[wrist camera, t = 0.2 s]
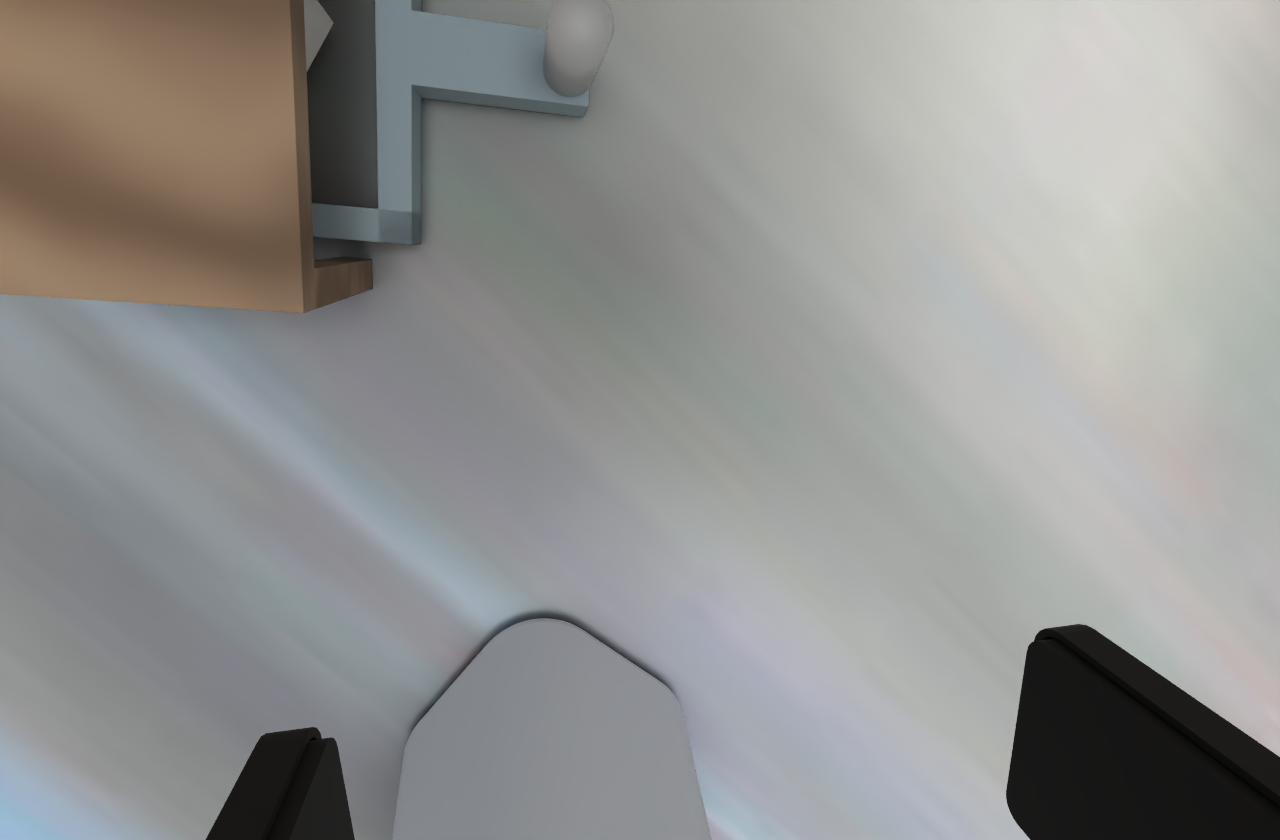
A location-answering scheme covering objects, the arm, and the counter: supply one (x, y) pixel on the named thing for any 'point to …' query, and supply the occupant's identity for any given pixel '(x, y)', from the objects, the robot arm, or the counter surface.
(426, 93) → the sliding frame
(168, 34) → the small wooden table
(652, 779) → the plastic bottle
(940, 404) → the counter surface
